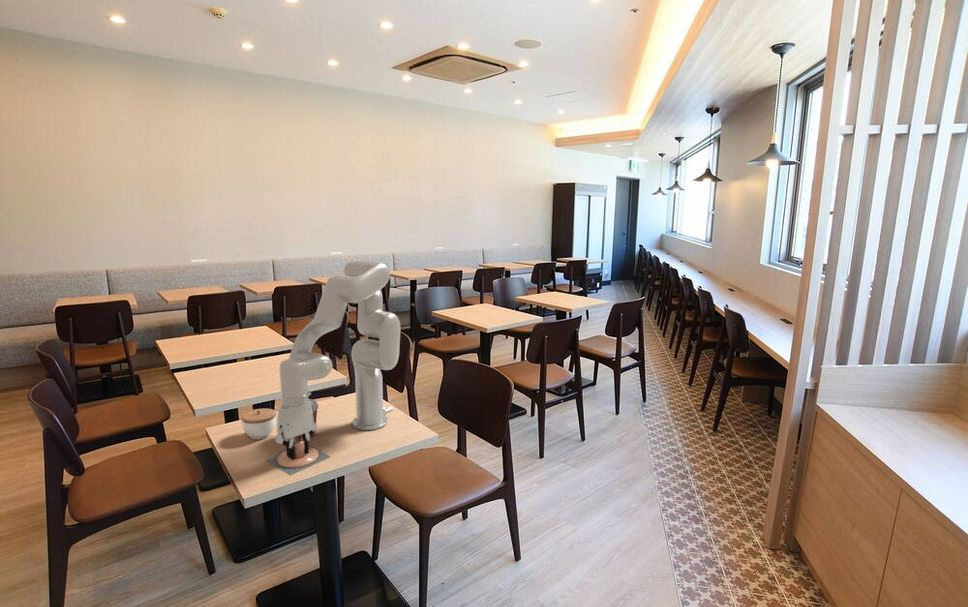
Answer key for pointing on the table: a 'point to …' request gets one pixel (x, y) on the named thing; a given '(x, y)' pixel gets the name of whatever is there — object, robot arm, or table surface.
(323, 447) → the table surface
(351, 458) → the table surface
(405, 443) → the table surface
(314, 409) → the disposable coffee cup
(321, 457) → the mat
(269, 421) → the lidded jar
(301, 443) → the lid
